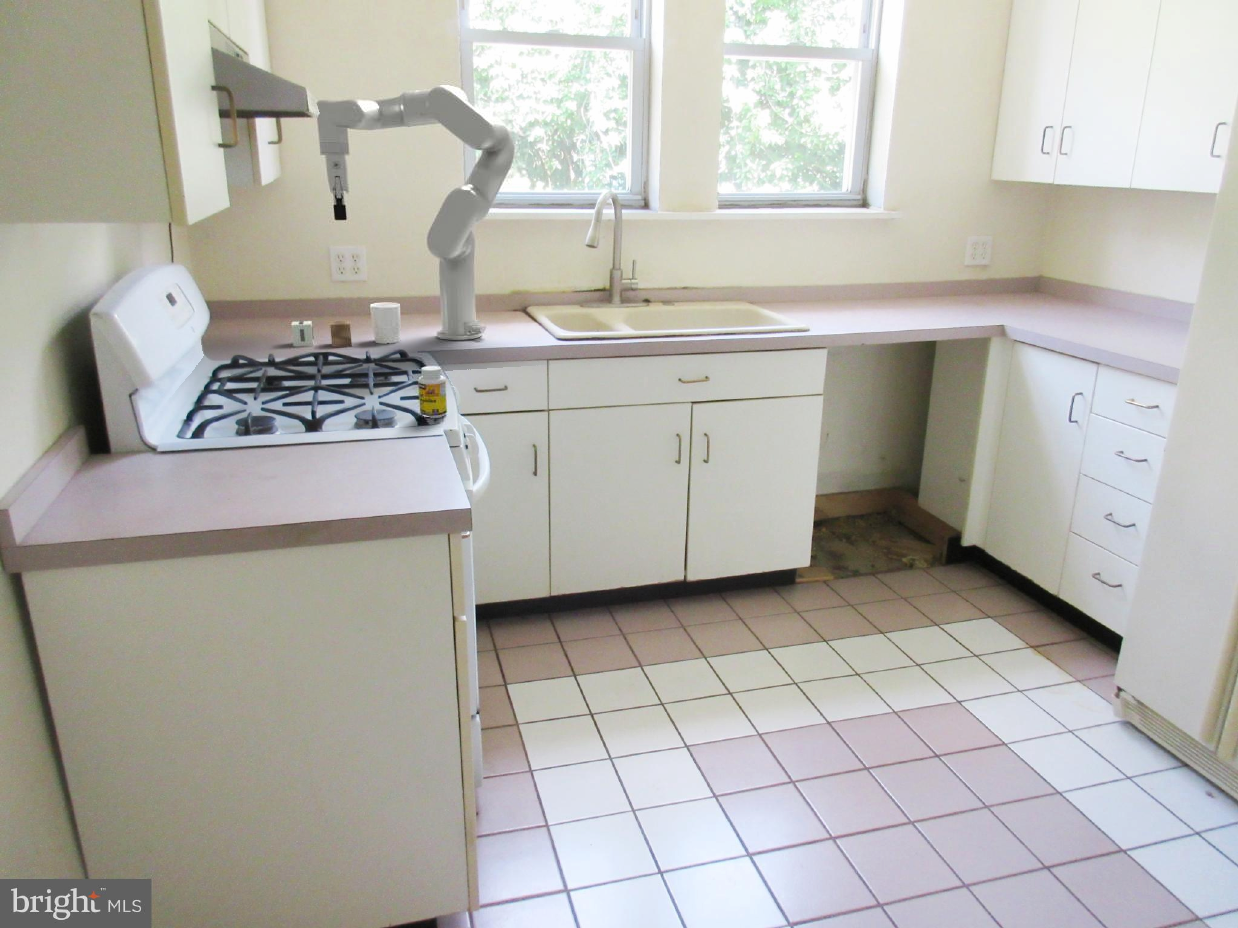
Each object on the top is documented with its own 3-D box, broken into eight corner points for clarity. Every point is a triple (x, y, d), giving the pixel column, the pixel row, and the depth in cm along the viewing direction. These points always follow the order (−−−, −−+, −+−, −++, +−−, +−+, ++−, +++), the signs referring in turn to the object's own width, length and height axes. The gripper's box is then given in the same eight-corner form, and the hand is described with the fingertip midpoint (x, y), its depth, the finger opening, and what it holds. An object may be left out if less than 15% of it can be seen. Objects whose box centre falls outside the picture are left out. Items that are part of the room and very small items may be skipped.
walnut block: (351, 342, 245) (349, 320, 243) (351, 346, 240) (349, 324, 238) (332, 343, 244) (330, 321, 242) (332, 347, 239) (330, 325, 237)
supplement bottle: (415, 417, 179) (411, 369, 176) (429, 410, 184) (426, 363, 180) (438, 420, 177) (435, 372, 174) (452, 413, 182) (449, 366, 178)
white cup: (367, 341, 247) (364, 304, 243) (391, 337, 252) (389, 301, 249) (383, 345, 242) (380, 308, 238) (408, 341, 247) (405, 305, 244)
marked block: (314, 342, 245) (312, 320, 243) (314, 346, 240) (311, 323, 238) (294, 343, 244) (291, 320, 242) (293, 347, 239) (291, 324, 237)
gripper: (349, 150, 236) (355, 222, 242) (348, 149, 250) (354, 217, 256) (319, 149, 234) (326, 222, 240) (319, 149, 248) (326, 218, 254)
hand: (340, 219), depth 248 cm, fingers closed
